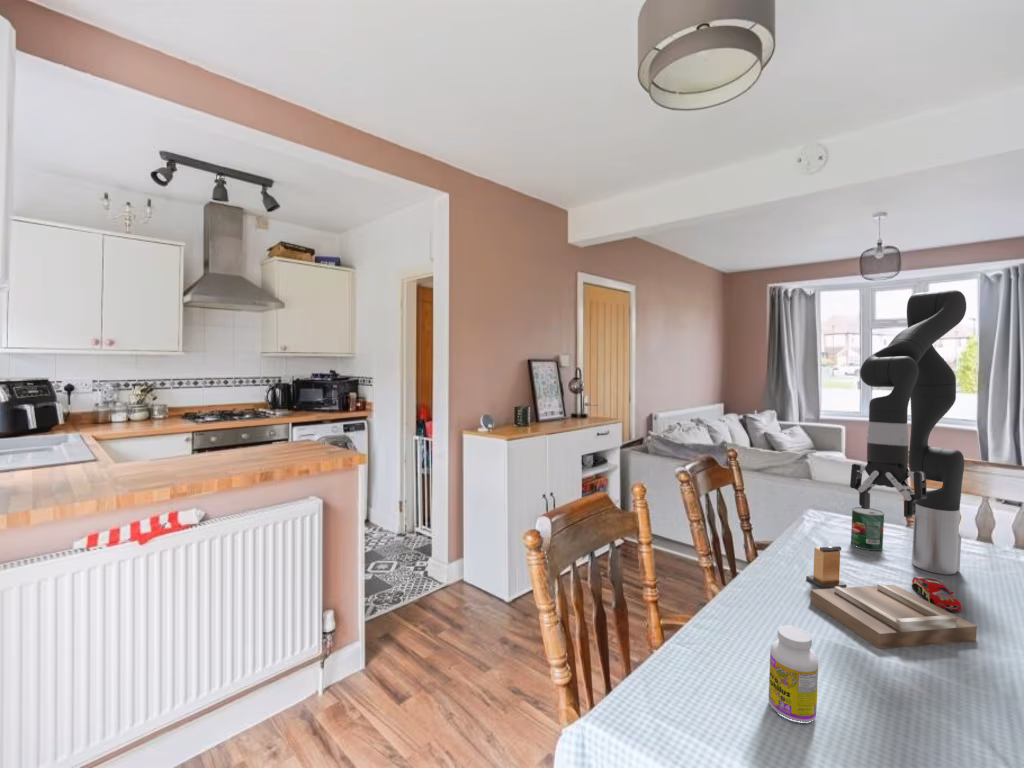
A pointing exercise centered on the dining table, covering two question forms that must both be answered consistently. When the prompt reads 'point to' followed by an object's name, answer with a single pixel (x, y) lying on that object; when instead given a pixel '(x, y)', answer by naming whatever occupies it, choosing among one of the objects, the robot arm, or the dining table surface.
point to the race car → (936, 593)
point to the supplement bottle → (793, 675)
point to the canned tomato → (867, 528)
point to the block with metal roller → (826, 568)
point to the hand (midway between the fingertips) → (886, 512)
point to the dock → (892, 616)
